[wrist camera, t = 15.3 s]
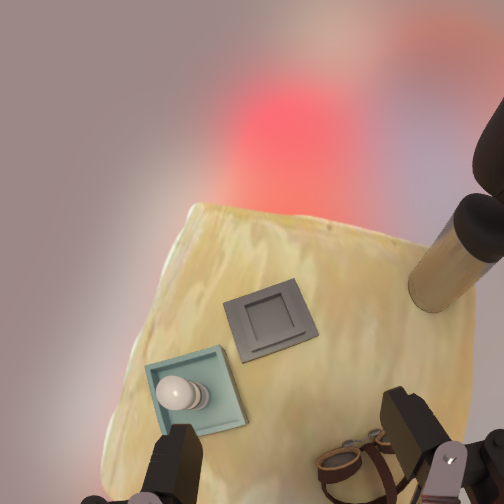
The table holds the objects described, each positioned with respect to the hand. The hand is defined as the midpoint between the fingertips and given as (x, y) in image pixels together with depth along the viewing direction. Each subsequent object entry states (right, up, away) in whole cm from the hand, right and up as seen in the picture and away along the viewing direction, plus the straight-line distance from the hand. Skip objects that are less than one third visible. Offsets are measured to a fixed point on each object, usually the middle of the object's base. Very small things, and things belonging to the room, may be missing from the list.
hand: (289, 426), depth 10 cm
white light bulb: (-9, -14, +27) cm, 32 cm away
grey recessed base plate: (+1, -4, +33) cm, 33 cm away
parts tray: (-9, -14, +28) cm, 33 cm away
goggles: (+16, -25, +19) cm, 35 cm away
